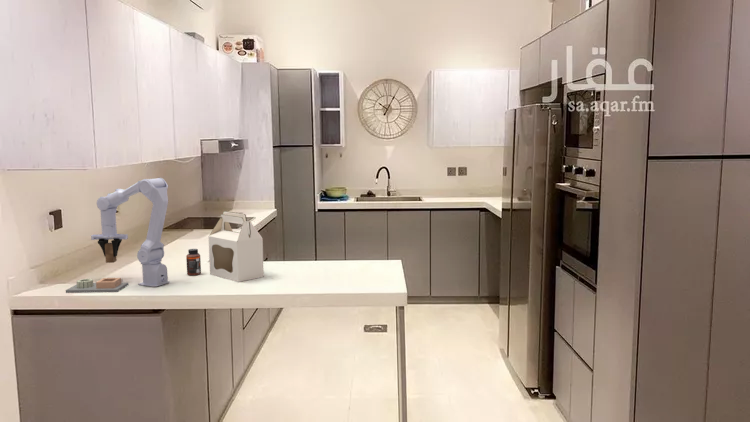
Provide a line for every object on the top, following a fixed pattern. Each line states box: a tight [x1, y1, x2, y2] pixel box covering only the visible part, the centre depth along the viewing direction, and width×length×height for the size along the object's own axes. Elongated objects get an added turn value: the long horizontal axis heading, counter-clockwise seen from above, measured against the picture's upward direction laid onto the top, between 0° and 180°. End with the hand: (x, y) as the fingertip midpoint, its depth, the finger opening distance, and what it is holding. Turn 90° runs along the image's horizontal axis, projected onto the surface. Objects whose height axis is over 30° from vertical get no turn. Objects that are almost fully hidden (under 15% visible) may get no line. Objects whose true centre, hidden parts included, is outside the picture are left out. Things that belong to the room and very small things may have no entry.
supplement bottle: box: [185, 248, 202, 277], centre depth 253 cm, size 6×6×11 cm
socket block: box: [65, 277, 129, 294], centre depth 229 cm, size 20×11×4 cm, turn 92°
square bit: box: [104, 242, 117, 264], centre depth 242 cm, size 3×3×8 cm
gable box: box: [208, 210, 265, 283], centre depth 249 cm, size 22×13×28 cm, turn 48°
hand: (110, 256), depth 242 cm, fingers closed on square bit, 3 cm apart
